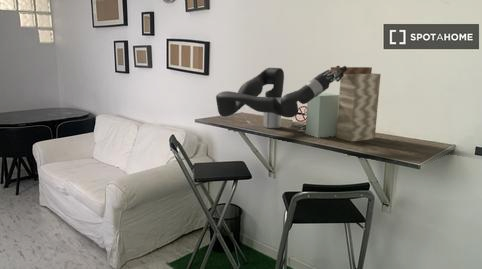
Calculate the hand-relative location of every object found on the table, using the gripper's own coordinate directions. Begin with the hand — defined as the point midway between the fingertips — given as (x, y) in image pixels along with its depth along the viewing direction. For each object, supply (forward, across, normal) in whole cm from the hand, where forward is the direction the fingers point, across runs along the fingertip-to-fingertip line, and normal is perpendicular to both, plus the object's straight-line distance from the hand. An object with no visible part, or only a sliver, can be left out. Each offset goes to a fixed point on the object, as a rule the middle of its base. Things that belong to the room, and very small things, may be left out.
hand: (342, 67), depth 177 cm
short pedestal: (-17, -13, -30) cm, 37 cm away
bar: (+3, 0, -5) cm, 6 cm away
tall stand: (-7, 0, -36) cm, 37 cm away
